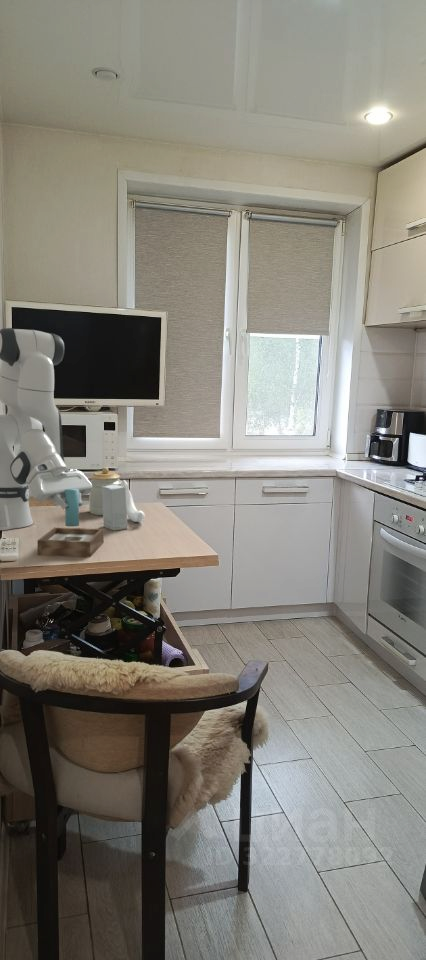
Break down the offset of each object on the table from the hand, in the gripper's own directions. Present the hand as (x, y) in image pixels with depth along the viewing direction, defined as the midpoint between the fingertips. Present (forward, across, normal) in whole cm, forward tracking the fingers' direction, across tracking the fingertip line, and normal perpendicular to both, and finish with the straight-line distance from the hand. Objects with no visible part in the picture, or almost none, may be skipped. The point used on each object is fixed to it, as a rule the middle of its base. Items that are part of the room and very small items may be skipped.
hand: (73, 506), depth 196 cm
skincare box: (+1, -28, -18) cm, 33 cm away
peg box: (+8, -1, -11) cm, 14 cm away
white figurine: (-1, -39, -18) cm, 43 cm away
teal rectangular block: (+4, 0, -5) cm, 6 cm away
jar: (-15, -43, -32) cm, 55 cm away
